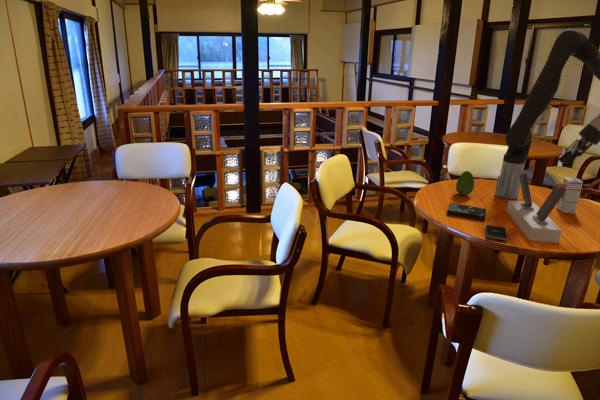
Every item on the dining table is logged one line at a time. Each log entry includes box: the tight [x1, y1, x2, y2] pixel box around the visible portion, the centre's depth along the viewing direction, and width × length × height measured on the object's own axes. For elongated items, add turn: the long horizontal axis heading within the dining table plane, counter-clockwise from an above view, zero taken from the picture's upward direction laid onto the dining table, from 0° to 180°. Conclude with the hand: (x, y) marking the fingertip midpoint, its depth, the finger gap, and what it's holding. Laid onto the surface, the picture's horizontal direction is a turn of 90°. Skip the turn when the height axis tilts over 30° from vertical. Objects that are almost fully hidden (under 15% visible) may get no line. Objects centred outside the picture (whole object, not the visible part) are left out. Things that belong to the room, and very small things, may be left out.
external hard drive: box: [484, 224, 508, 243], centre depth 153 cm, size 7×11×2 cm, turn 158°
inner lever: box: [519, 169, 533, 207], centre depth 165 cm, size 3×5×15 cm, turn 168°
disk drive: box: [446, 202, 487, 222], centre depth 173 cm, size 10×3×15 cm
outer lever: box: [536, 181, 567, 221], centre depth 151 cm, size 3×5×15 cm, turn 170°
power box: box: [506, 200, 563, 244], centre depth 162 cm, size 10×30×6 cm, turn 169°
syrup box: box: [556, 176, 584, 214], centre depth 178 cm, size 6×6×14 cm
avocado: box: [455, 170, 475, 196], centre depth 195 cm, size 8×8×12 cm
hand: (563, 162), depth 162 cm, fingers open, 8 cm apart
